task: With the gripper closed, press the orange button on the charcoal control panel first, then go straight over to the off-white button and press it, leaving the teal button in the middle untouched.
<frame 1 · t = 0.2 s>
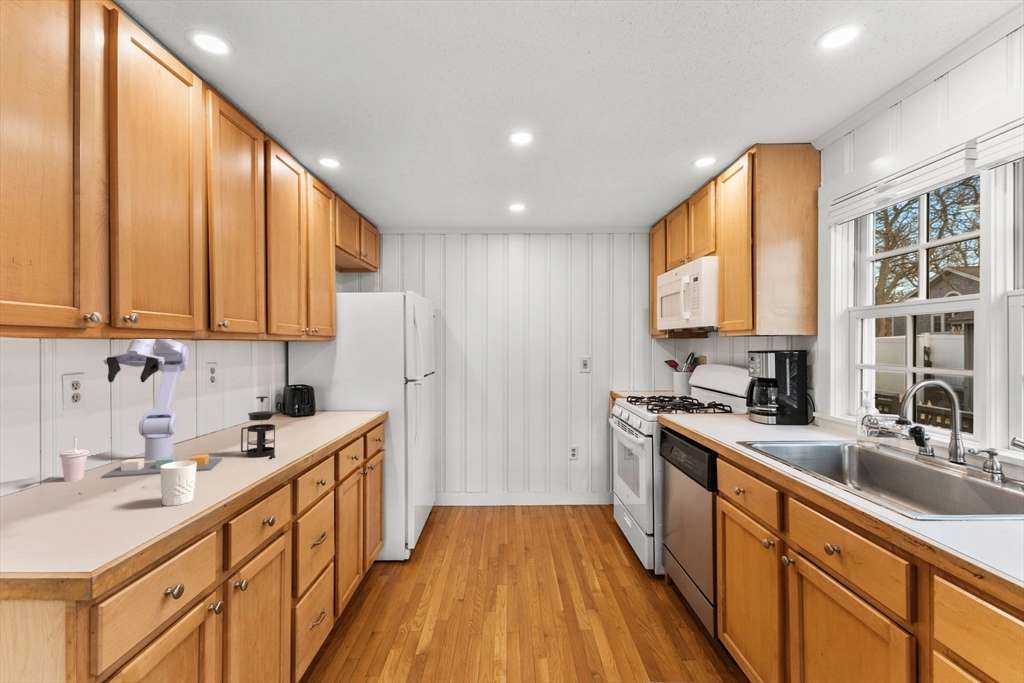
hand: (126, 380, 133), 31 cm above the counter, tool tilted 45°, fingers open, 7 cm apart
white cup: (178, 502, 119), on the counter
teal button: (166, 463, 145), point 3 cm above the counter, slide at 0.0 cm
orange button: (199, 461, 148), point 3 cm above the counter, slide at 0.0 cm
smoothie: (73, 484, 132), on the counter
button panel: (166, 472, 145), on the counter
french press: (259, 459, 164), on the counter
white button: (132, 465, 142), point 3 cm above the counter, slide at 0.0 cm
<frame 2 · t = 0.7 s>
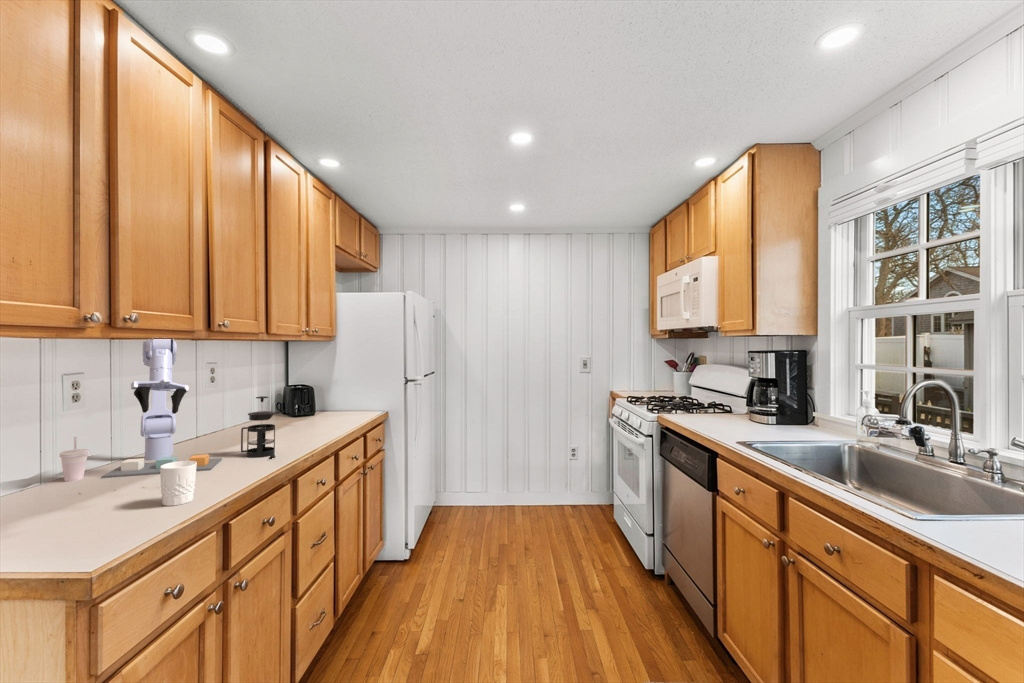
hand: (160, 411, 136), 21 cm above the counter, tool tilted 30°, fingers open, 7 cm apart
nothing on the counter moved.
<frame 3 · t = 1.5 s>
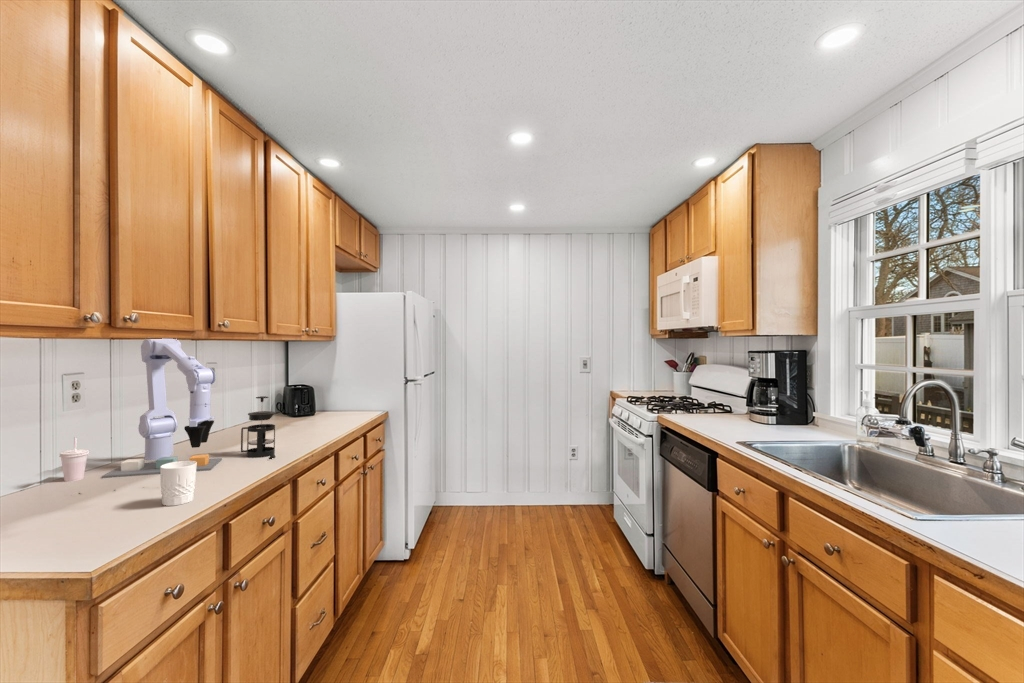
hand: (199, 444, 148), 8 cm above the counter, tool pointing down, fingers open, 7 cm apart
nothing on the counter moved.
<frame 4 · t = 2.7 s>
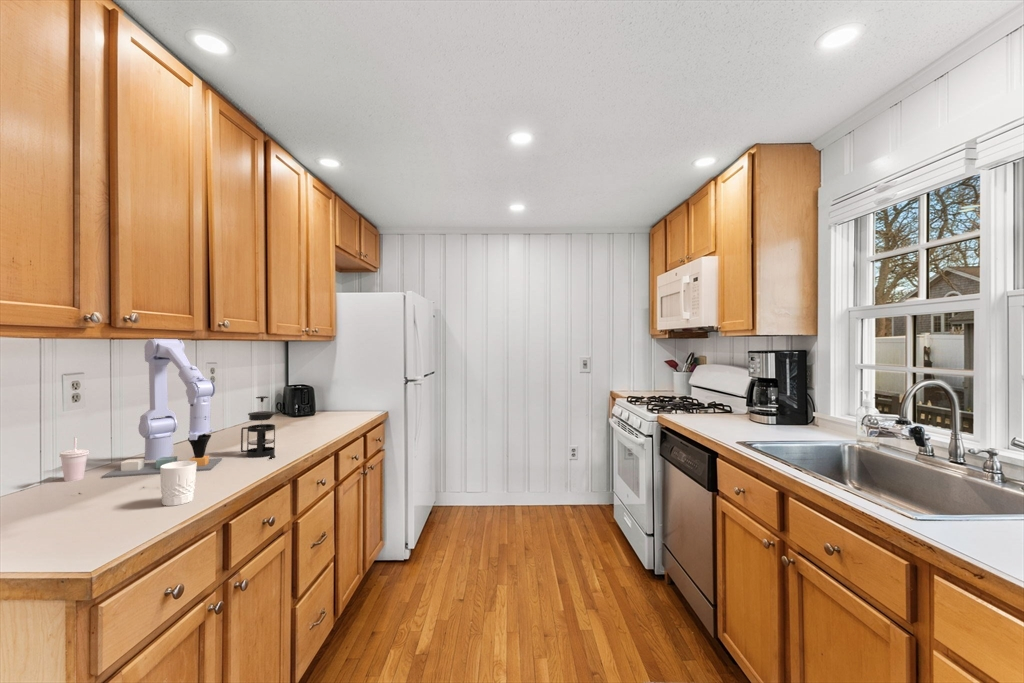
hand: (199, 457, 148), 4 cm above the counter, tool pointing down, fingers closed, pressing on orange button
orange button: (199, 462, 148), point 3 cm above the counter, slide at 0.4 cm, touching gripper
everything else where it was.
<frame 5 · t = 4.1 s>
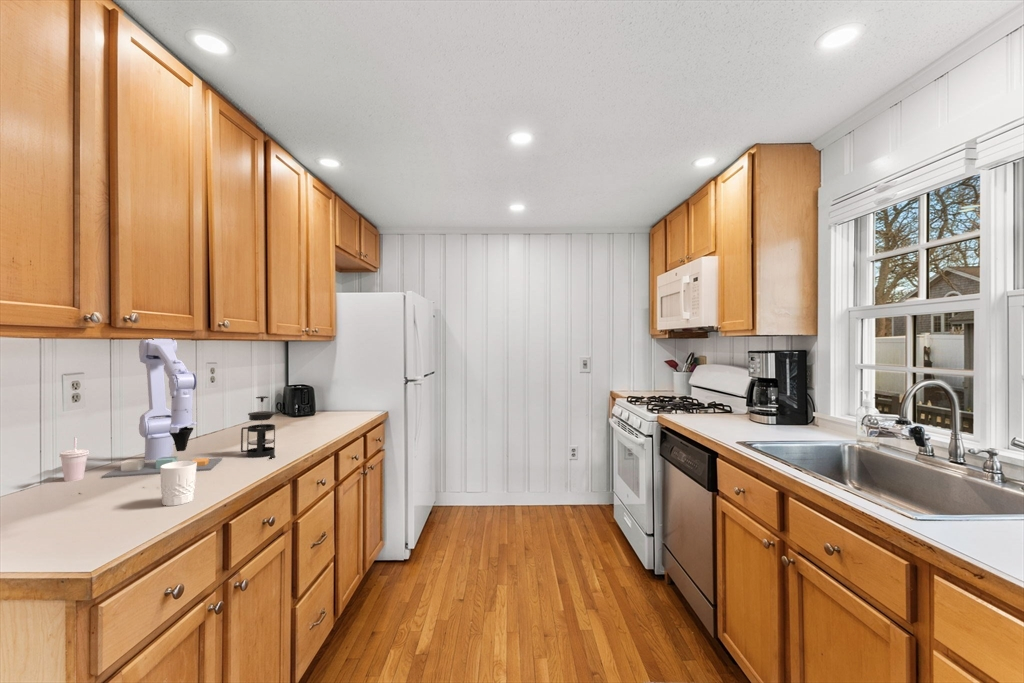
hand: (181, 450, 147), 7 cm above the counter, tool pointing down, fingers closed
orange button: (199, 464, 148), point 2 cm above the counter, slide at 1.3 cm
everything else where it was.
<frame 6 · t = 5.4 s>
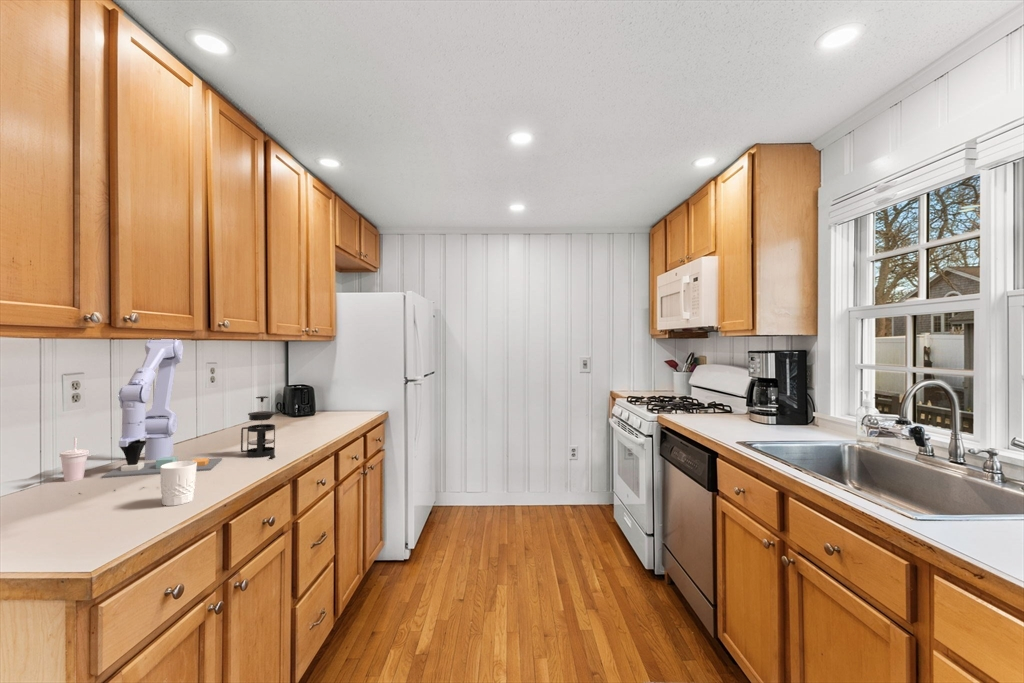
hand: (132, 464, 142), 3 cm above the counter, tool pointing down, fingers closed, pressing on white button
white button: (132, 469, 142), point 2 cm above the counter, slide at 1.3 cm, touching gripper
everything else where it was.
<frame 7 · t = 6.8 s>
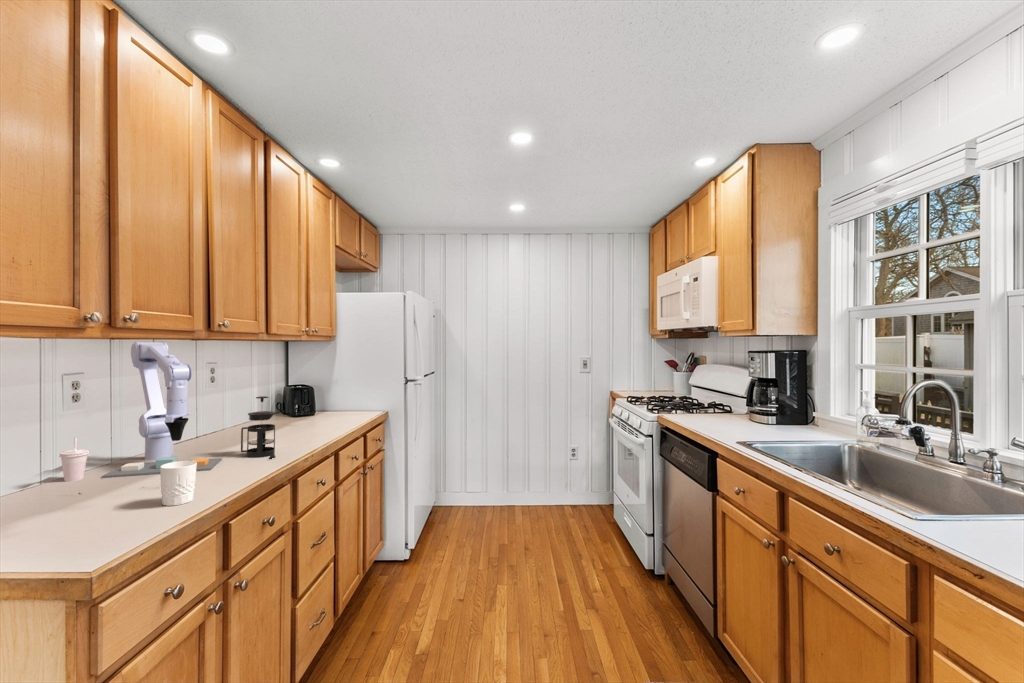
hand: (176, 440, 150), 9 cm above the counter, tool pointing down, fingers closed
white button: (132, 469, 142), point 2 cm above the counter, slide at 1.3 cm
everything else where it was.
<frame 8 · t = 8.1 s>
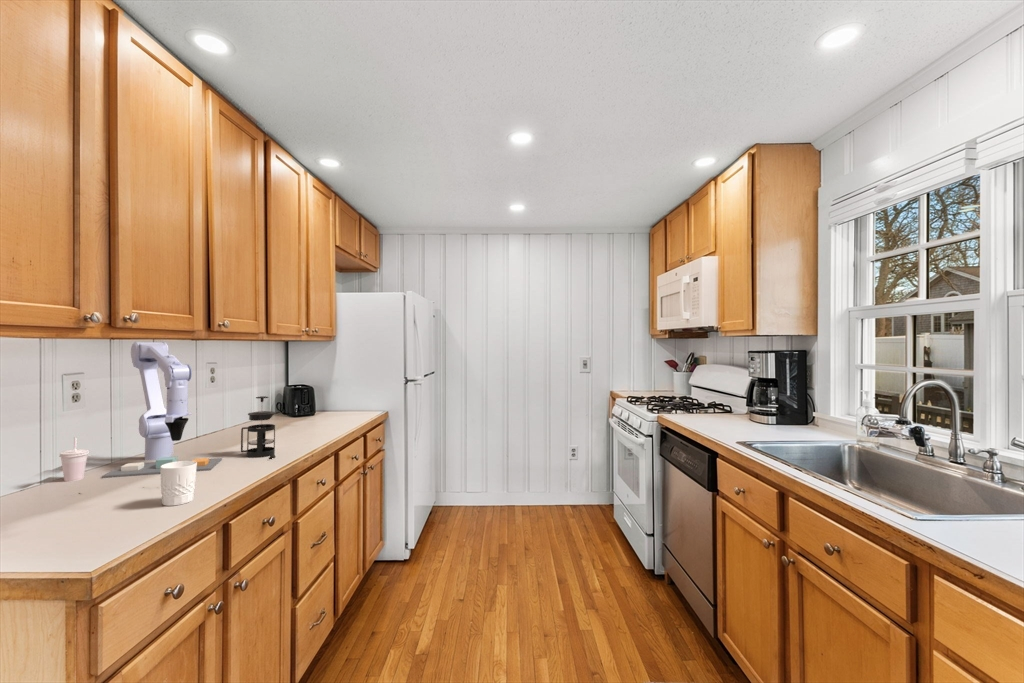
hand: (176, 440, 150), 9 cm above the counter, tool pointing down, fingers closed
nothing on the counter moved.
at the end: orange button slide at 1.3 cm; white button slide at 1.3 cm; teal button slide at 0.0 cm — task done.
